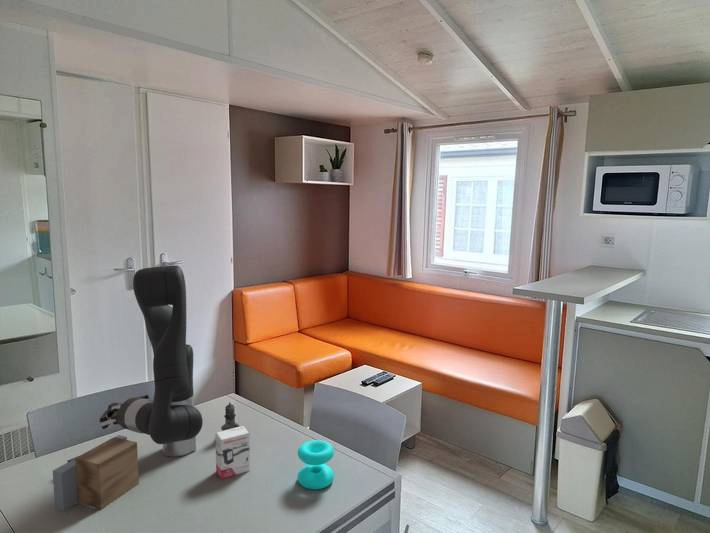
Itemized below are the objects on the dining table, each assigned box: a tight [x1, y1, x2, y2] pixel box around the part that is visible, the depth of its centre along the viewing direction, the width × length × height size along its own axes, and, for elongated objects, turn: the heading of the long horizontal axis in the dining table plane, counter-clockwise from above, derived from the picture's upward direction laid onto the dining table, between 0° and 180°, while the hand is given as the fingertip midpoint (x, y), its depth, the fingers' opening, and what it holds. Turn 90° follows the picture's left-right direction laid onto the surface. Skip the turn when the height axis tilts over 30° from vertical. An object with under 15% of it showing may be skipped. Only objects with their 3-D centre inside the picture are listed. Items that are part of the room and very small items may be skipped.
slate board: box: [52, 434, 128, 512], centre depth 125 cm, size 3×20×10 cm, turn 160°
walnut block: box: [74, 436, 140, 511], centre depth 123 cm, size 8×12×12 cm, turn 160°
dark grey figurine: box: [220, 402, 240, 431], centre depth 155 cm, size 6×6×12 cm
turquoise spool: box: [297, 439, 335, 490], centre depth 130 cm, size 10×10×10 cm
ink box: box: [214, 425, 251, 480], centre depth 134 cm, size 8×5×12 cm, turn 123°
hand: (111, 407), depth 122 cm, fingers closed
